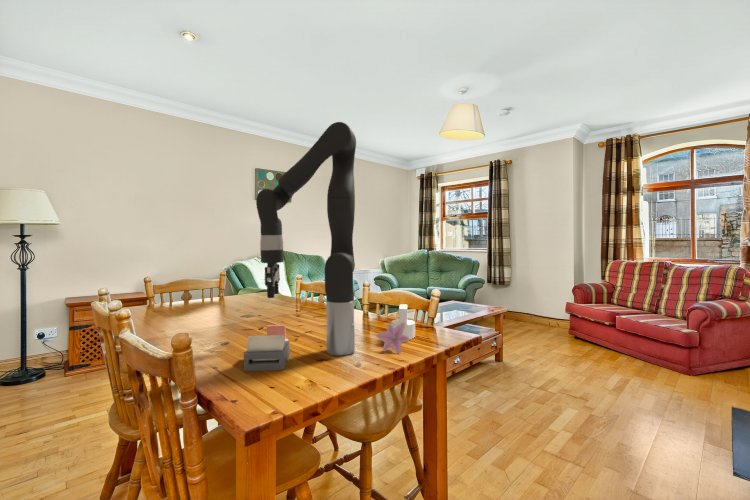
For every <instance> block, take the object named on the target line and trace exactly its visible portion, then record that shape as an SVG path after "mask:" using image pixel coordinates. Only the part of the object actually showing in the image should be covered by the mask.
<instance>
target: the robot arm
mask: <svg viewBox="0 0 750 500" xmlns="http://www.w3.org/2000/svg"><path fill="white" fill-rule="evenodd" d="M356 149H357V137H356V135H355V133H354V132H353V130H352V129H351V127H350V126H349V125H348V124H347V123H345V122H342V121H337V122H334V123H331V124H330V125H329V126H328V127H327V128H326V129H325V130H324V132H322V134H321V136H320V137H319V138H318V139H317V141H316V142H314V144H313V145H312V146H311V147H310V149H309V150H308V151H307V152H306V153H305V154H304V155H303V156H302V157H301V158H300V159H299V160H298V161H297V162H296V163H295V164H294V165H292V166H291V167H290V168H289V169H288V170H287V171H286V172H285V173H284V174H282V175H281V177H279V179H278V184H277V185H276V187H274V188H273V189H270V188H263V189H261V190H260V191H259V192H258V193H257V195H256V201H255V203H256V209H257V214H258V219H259V222H260V243H259V244H260V245H259V246H260V247H259V249H260V250H259V251H260V263H262V264H267V266H265V267H264V285H265V287H266V292H267V293H266V296H267V298H268V299H274V298H275V295H278V294H279V283H280V279H281V278H280V264H279V263H283V262H284V241H283V240H284V239H283V224H282V221H281V218H279V216H278V211H279V210H281V209H283V208H284V207H285V206H286V205H287V204H288V202H289V201H290V200H291V199H292V197H293V196H294V194H296V193H297V192H298V191H299V190H300V189H302V188H303V187H304V186H305V185H306V184H307V183H308V182H309V181H310V180H311V179H312V177H314V175H315V174H316V172H317V171H318V169H320V167H321V166H322V165H323V164H324V163H325V161H327V160H328V159H329V158H332V159H331V160H332V171H331V176H330V179H329V180H330V181H329V184H328V188H327V196H326V198H327V199H326V201H327V202H326V203H327V204H326V205H327V206H326V207H327V208H326V210H327V211H326V212H327V214H326V215H327V219H328V226H329V231H330V238H331V244H330V253H329V254H330V255H329V256H328V257H327V259H326V260H325V263H324V292H325V297H326V306H325V307H326V353H327V354H329V355H332V356H347V355H351V354H355V353H356V351H355V292H354V291H355V290H354V272H355V271H354V270H355V265H356V262H355V255H354V254H355V253H354V244H353V243H354V242H353V240H354V239H353V234H354V226H355V208H356V203H355V202H356V194H355V189H356V188H355V175H354V174H355V173H354V169H355V168H354V167H355V155H356Z"/></svg>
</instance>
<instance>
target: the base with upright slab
mask: <svg viewBox="0 0 750 500" xmlns="http://www.w3.org/2000/svg"><path fill="white" fill-rule="evenodd" d="M403 322H405V327H404V331H403V335H405V336H407V337H408V338H410V339H412V338H414V337H415V338H416V321H415V320H411V319H408V304H406V303H405V304H400V303H399V308H398V319H394V320H392V321H391V325H392V326H393V327H394V328H395V327H396V326H398V325H399V324H401V323H403Z"/></svg>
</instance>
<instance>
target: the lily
mask: <svg viewBox="0 0 750 500" xmlns="http://www.w3.org/2000/svg"><path fill="white" fill-rule="evenodd" d="M404 327H405V322H403V323H401V324H399V325H398V326H396V327H395V328H394V327H393V326H392V323H389V322H388V323H387V326H386V331H382V332H379V333H377V334H376V335H375V337H376V338H377V339H378V340H380V341H382V342H383V343H384V345H383V348H382V352H383V351H384V352H386V351H387V350H389V349H392V350H393V351H394V352H395V353H396V354H397V353H400V354H401V352H402V343H406V342H410V341H409V340H410V338H408V337H407V336H405V335H403V331H404Z"/></svg>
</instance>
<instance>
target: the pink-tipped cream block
mask: <svg viewBox="0 0 750 500" xmlns="http://www.w3.org/2000/svg"><path fill="white" fill-rule="evenodd" d="M286 325H287V324H268V325H267V326H266V333H267V334H266V336H269V335H284V336H285V341H289V338H287V335H286V334H287V331H286V329H287V326H286ZM263 360H279V359H252V361H263Z"/></svg>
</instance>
